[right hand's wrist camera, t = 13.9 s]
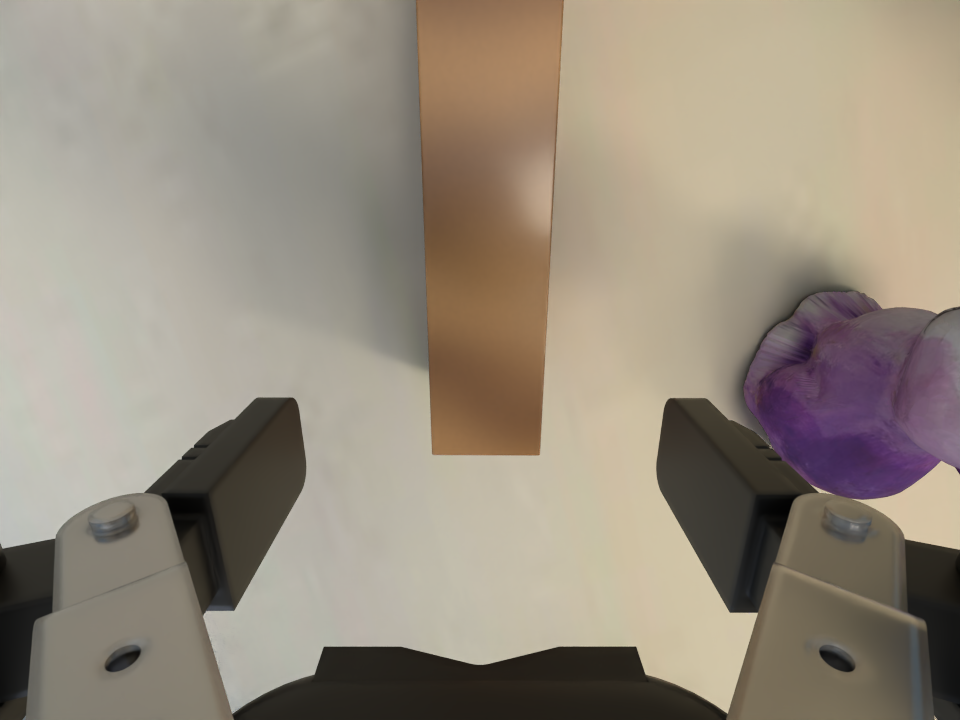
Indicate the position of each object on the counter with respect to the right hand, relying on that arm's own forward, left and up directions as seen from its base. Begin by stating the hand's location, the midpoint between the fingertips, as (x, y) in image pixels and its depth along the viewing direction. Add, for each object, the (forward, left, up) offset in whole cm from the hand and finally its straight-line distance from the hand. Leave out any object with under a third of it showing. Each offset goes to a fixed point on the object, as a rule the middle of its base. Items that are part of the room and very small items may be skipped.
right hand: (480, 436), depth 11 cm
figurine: (-19, -1, -17) cm, 26 cm away
